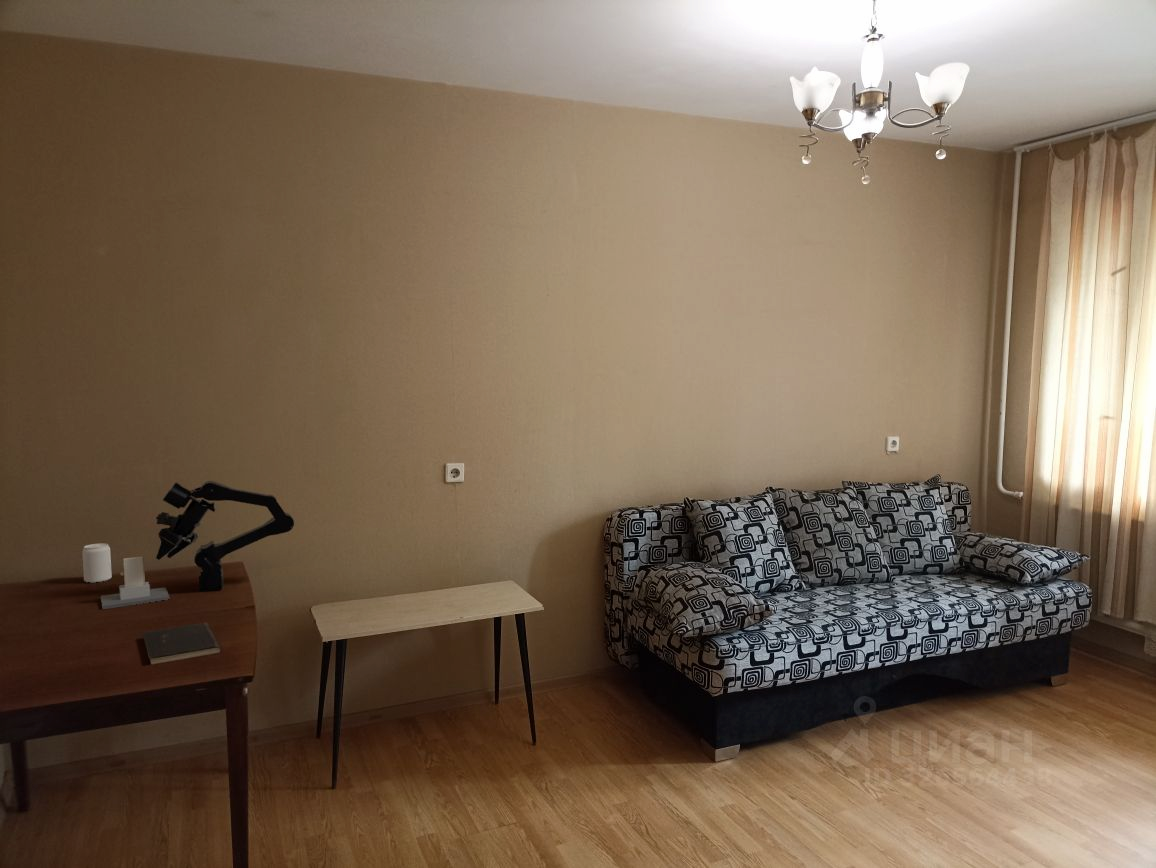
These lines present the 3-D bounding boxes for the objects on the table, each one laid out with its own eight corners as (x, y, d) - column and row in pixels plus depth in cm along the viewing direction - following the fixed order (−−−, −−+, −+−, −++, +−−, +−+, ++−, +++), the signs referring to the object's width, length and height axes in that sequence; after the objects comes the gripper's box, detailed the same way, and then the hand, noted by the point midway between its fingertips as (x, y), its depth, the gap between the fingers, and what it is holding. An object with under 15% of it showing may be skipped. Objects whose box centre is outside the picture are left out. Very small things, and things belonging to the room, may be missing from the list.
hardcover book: (149, 667, 196) (149, 658, 196) (142, 640, 216) (142, 632, 215) (221, 654, 205) (221, 645, 204) (208, 630, 224) (208, 621, 224)
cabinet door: (145, 594, 255) (143, 556, 254) (145, 595, 253) (143, 557, 252) (121, 597, 252) (119, 559, 251) (121, 598, 250) (119, 560, 249)
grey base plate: (165, 590, 263) (164, 576, 263) (169, 599, 252) (169, 585, 252) (100, 599, 254) (99, 584, 253) (102, 609, 243) (101, 594, 242)
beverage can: (116, 579, 278) (114, 544, 277) (92, 584, 271) (90, 549, 270) (103, 576, 282) (101, 542, 281) (79, 581, 275) (77, 546, 274)
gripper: (180, 503, 269) (152, 543, 267) (159, 502, 251) (128, 546, 249) (209, 521, 270) (181, 561, 268) (190, 521, 252) (160, 565, 249)
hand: (163, 558), depth 258 cm, fingers open, 9 cm apart
